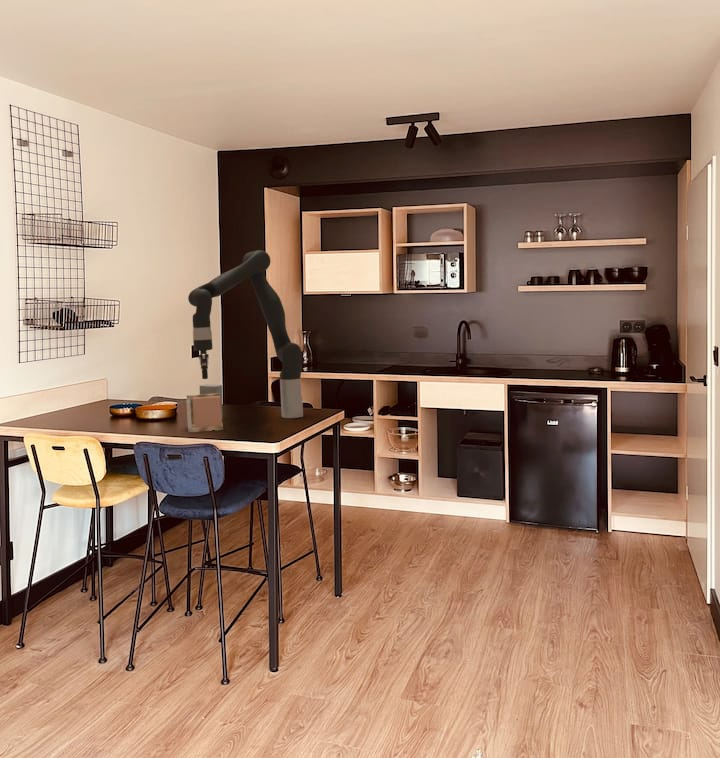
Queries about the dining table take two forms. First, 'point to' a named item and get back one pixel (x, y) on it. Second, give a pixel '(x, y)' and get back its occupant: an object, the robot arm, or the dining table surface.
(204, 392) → the skincare box
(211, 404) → the terracotta book
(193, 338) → the robot arm
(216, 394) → the plywood shelf
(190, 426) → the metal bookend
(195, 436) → the dining table surface
